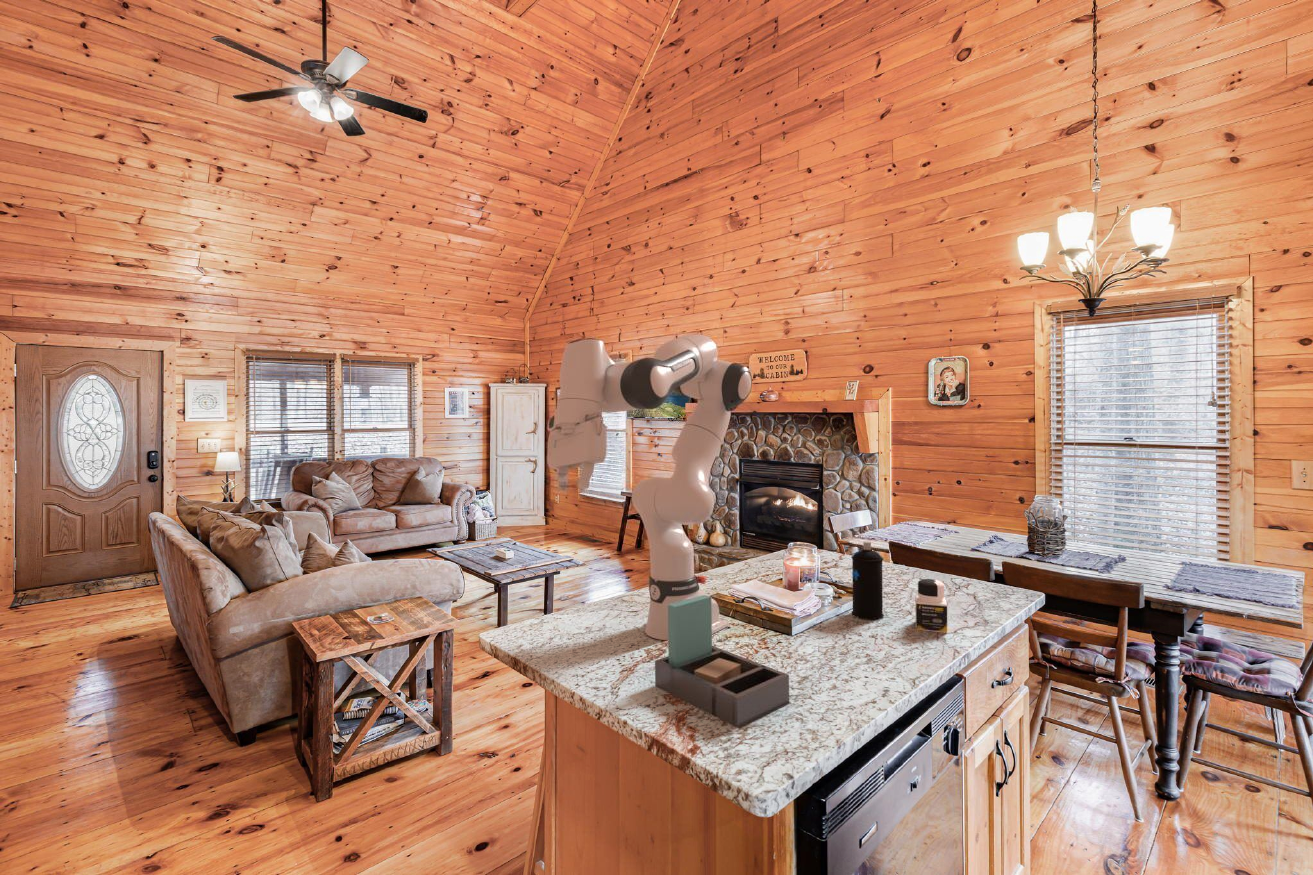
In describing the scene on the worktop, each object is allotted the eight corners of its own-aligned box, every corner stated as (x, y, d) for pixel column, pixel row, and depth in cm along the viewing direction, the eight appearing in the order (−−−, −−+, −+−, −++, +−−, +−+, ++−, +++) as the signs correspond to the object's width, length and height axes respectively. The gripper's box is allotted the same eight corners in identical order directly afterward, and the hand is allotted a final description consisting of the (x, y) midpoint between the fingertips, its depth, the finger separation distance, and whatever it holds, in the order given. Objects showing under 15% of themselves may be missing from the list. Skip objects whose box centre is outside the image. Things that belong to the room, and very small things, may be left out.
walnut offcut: (719, 670, 118) (719, 657, 118) (740, 677, 115) (740, 664, 115) (694, 683, 112) (694, 670, 112) (716, 691, 109) (715, 677, 109)
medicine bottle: (916, 630, 151) (915, 582, 151) (915, 621, 158) (915, 576, 158) (947, 633, 148) (947, 585, 148) (945, 624, 155) (945, 578, 155)
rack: (706, 673, 126) (705, 643, 126) (791, 710, 109) (791, 675, 109) (655, 693, 117) (655, 660, 117) (739, 737, 100) (739, 698, 100)
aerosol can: (886, 613, 165) (886, 541, 164) (879, 621, 158) (879, 546, 157) (855, 608, 169) (855, 538, 169) (848, 616, 162) (847, 543, 162)
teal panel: (705, 671, 124) (704, 594, 123) (712, 674, 122) (711, 596, 122) (668, 685, 117) (667, 604, 117) (675, 689, 116) (674, 606, 115)
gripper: (618, 413, 109) (612, 488, 106) (572, 428, 126) (567, 493, 124) (586, 407, 106) (579, 485, 103) (544, 423, 123) (538, 490, 120)
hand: (572, 489), depth 114 cm, fingers open, 8 cm apart
